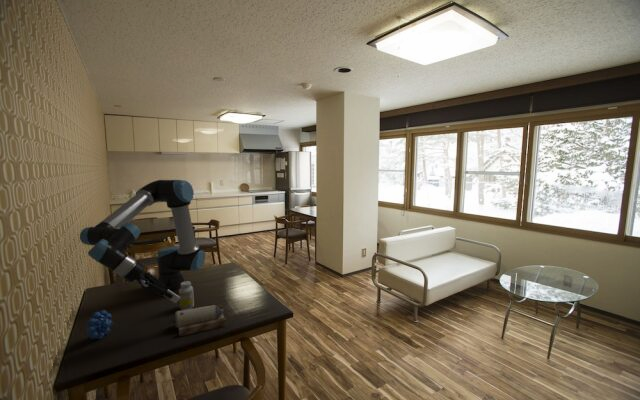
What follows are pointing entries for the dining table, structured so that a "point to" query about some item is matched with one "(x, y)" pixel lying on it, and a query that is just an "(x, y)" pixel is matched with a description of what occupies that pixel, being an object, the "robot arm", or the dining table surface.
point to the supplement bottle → (186, 296)
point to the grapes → (99, 324)
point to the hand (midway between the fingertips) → (178, 300)
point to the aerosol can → (197, 315)
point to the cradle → (203, 325)
